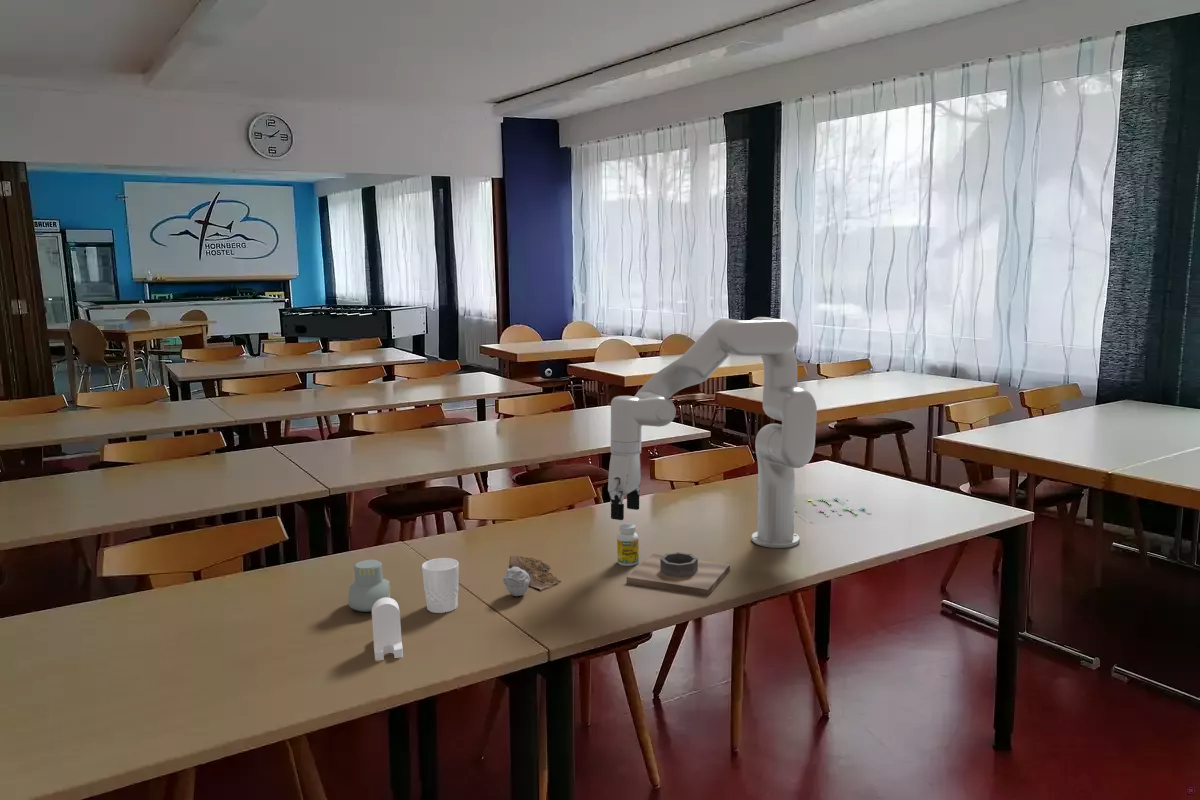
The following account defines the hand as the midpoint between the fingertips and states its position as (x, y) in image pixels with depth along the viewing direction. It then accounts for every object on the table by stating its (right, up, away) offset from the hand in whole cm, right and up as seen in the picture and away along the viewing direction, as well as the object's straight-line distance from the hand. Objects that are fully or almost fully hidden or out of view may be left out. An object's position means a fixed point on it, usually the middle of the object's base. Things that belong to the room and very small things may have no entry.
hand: (625, 514), depth 209 cm
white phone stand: (-48, -21, -42) cm, 68 cm away
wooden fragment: (-24, -14, -3) cm, 28 cm away
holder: (+13, -14, -8) cm, 20 cm away
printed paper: (+66, -5, +46) cm, 81 cm away
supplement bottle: (+1, -13, +2) cm, 13 cm away
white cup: (-41, -18, -23) cm, 50 cm away
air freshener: (-57, -18, -22) cm, 64 cm away
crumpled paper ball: (-25, -16, -17) cm, 35 cm away
